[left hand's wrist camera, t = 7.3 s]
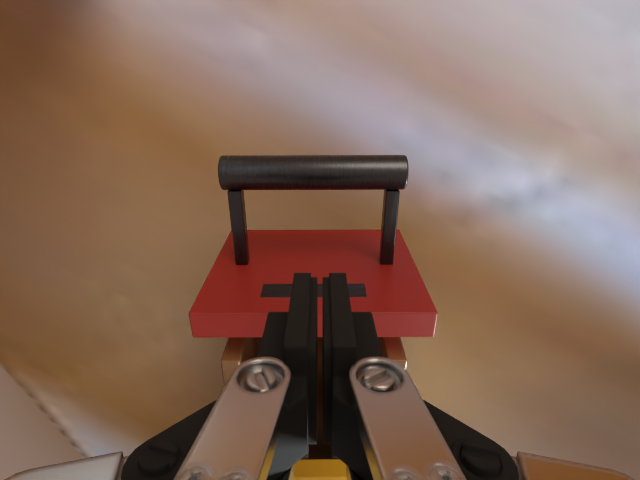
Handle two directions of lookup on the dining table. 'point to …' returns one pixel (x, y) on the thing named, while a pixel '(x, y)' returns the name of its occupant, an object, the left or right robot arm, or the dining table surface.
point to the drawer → (311, 262)
